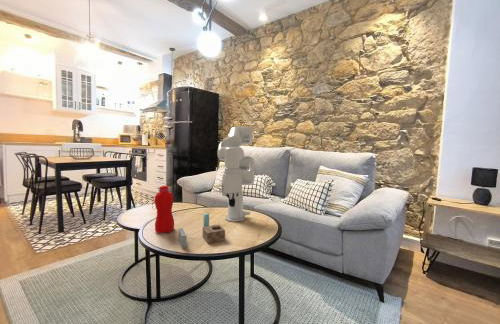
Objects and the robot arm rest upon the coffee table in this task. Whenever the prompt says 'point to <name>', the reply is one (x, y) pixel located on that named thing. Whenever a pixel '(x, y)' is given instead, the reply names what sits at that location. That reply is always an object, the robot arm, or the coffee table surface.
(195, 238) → the coffee table surface
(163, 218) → the water bottle
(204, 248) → the coffee table surface
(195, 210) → the coffee table surface
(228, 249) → the coffee table surface
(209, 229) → the block
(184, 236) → the wall
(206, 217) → the dowel
